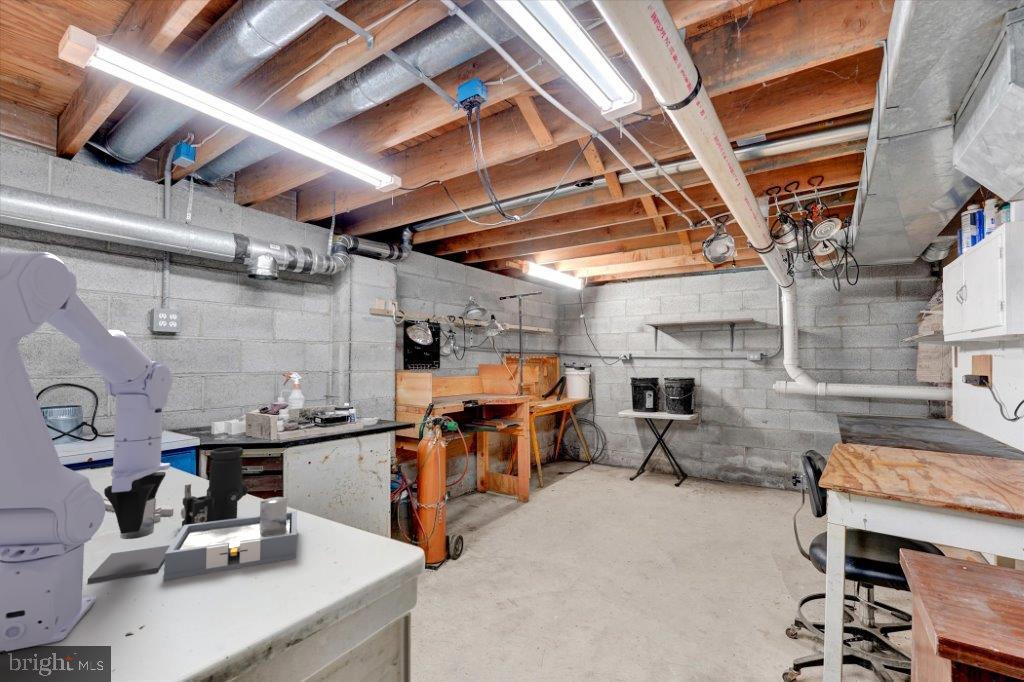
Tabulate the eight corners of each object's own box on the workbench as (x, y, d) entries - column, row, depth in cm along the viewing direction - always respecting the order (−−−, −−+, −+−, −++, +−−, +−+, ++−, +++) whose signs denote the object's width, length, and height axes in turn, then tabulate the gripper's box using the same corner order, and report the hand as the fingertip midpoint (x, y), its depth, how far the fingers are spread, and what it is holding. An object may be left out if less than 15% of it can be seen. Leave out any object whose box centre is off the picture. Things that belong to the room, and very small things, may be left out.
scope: (182, 452, 86) (238, 444, 94) (179, 526, 85) (236, 511, 93) (199, 457, 81) (257, 449, 89) (196, 536, 80) (255, 520, 89)
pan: (288, 547, 71) (288, 542, 71) (172, 565, 65) (173, 560, 65) (289, 523, 82) (290, 518, 82) (190, 536, 75) (190, 531, 75)
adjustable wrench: (83, 507, 97) (83, 498, 97) (119, 499, 103) (120, 491, 103) (143, 526, 86) (144, 517, 86) (181, 516, 91) (181, 507, 91)
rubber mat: (157, 571, 67) (158, 567, 67) (87, 582, 64) (87, 578, 64) (172, 548, 75) (173, 544, 75) (111, 557, 72) (111, 553, 72)
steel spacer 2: (286, 532, 75) (286, 502, 76) (258, 536, 74) (259, 505, 74) (286, 524, 79) (287, 495, 79) (260, 528, 77) (261, 498, 77)
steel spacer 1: (148, 537, 69) (151, 504, 69) (115, 540, 67) (118, 506, 67) (157, 528, 72) (159, 496, 73) (126, 530, 71) (128, 498, 71)
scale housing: (296, 558, 72) (296, 535, 72) (163, 580, 65) (164, 554, 65) (296, 529, 84) (296, 510, 84) (183, 545, 76) (184, 524, 76)
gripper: (157, 444, 65) (154, 539, 65) (180, 429, 78) (178, 508, 78) (94, 448, 62) (90, 548, 62) (129, 432, 75) (126, 514, 75)
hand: (135, 526), depth 70 cm, fingers closed on steel spacer 1, 4 cm apart
